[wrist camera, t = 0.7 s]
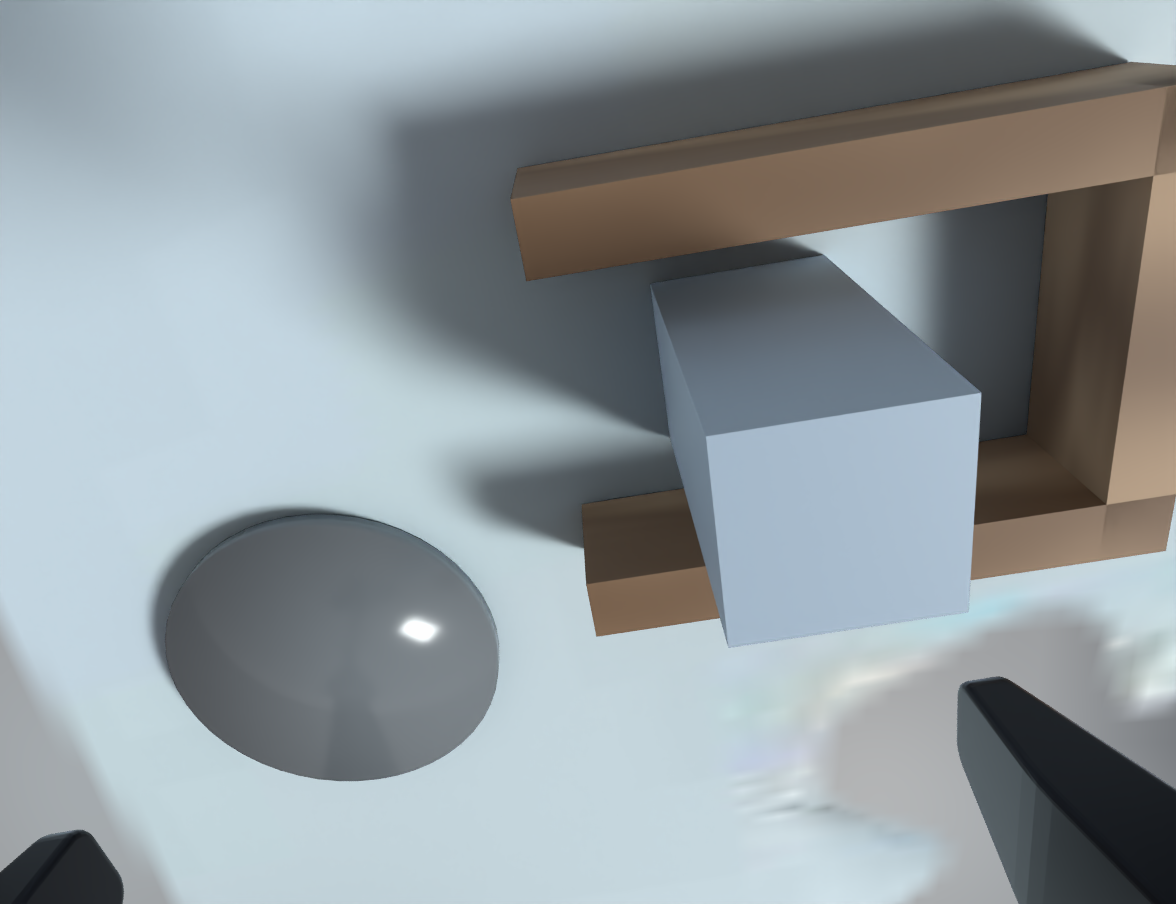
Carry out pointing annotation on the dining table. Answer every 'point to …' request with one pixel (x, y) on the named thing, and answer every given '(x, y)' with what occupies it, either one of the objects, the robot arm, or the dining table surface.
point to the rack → (904, 189)
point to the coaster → (333, 648)
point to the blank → (816, 451)
